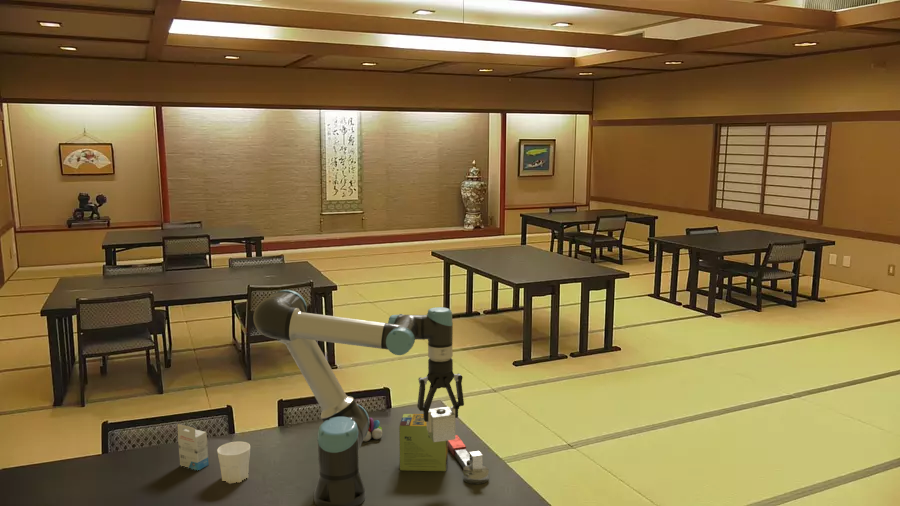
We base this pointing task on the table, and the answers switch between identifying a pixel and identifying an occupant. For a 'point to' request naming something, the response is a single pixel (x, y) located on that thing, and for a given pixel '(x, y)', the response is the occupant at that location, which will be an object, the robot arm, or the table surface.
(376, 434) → the rainbow finned toy
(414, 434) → the protein box
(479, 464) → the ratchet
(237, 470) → the cup
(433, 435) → the metal cube with knob
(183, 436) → the ink box
